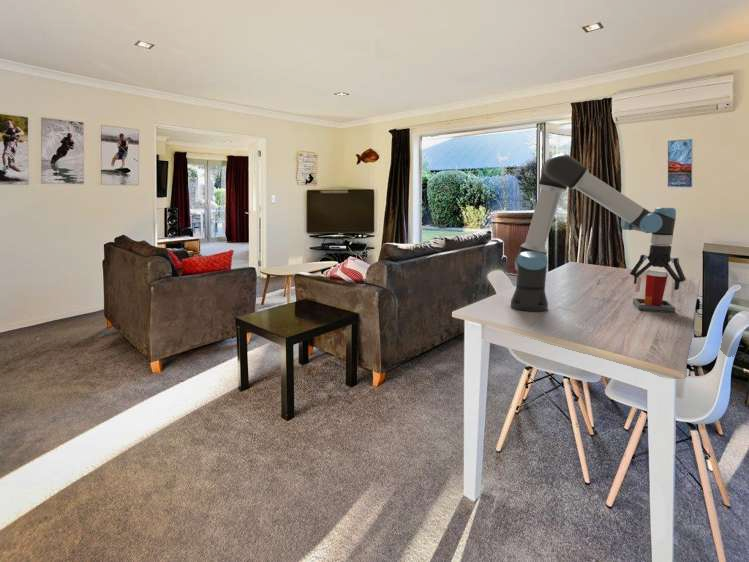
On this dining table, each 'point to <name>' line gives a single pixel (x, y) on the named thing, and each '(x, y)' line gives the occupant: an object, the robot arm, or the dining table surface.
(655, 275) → the coffee cup
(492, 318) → the dining table surface
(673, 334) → the dining table surface
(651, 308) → the grey square tray
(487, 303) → the dining table surface
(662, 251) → the robot arm
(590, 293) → the dining table surface
